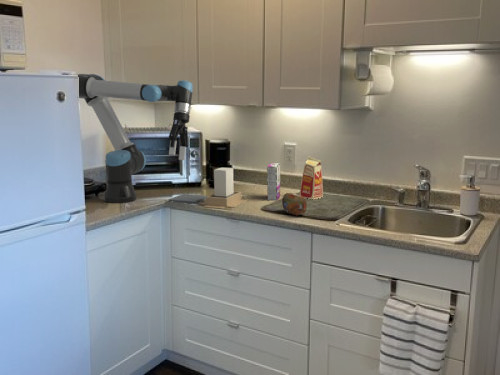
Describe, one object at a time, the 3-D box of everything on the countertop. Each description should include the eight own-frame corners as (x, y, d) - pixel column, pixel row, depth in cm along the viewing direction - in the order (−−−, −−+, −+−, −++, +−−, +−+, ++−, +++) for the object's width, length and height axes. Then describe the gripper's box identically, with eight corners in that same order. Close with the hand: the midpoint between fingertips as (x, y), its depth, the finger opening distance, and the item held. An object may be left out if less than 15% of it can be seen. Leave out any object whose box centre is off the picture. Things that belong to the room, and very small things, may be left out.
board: (168, 201, 244) (168, 199, 244) (183, 195, 257) (183, 193, 257) (194, 203, 239) (194, 201, 239) (208, 197, 252) (208, 195, 251)
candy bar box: (270, 195, 256) (270, 162, 253) (280, 195, 255) (280, 163, 252) (266, 200, 245) (266, 166, 242) (277, 200, 244) (277, 166, 241)
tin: (281, 210, 225) (281, 191, 223) (287, 209, 226) (287, 190, 225) (301, 217, 212) (301, 197, 210) (307, 216, 214) (308, 196, 212)
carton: (196, 206, 234) (195, 197, 233) (218, 196, 254) (218, 188, 254) (230, 209, 227) (230, 200, 226) (250, 199, 248) (250, 191, 247)
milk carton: (299, 197, 250) (299, 157, 246) (309, 194, 257) (310, 155, 253) (314, 200, 244) (315, 158, 241) (325, 197, 251) (326, 156, 248)
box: (214, 204, 238) (214, 169, 235) (222, 200, 245) (221, 167, 242) (226, 205, 236) (225, 170, 233) (233, 201, 243) (233, 168, 240)
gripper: (180, 106, 232) (175, 152, 230) (197, 120, 256) (192, 162, 254) (165, 105, 234) (159, 151, 231) (182, 119, 258) (178, 161, 256)
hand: (176, 157), depth 243 cm, fingers open, 13 cm apart
